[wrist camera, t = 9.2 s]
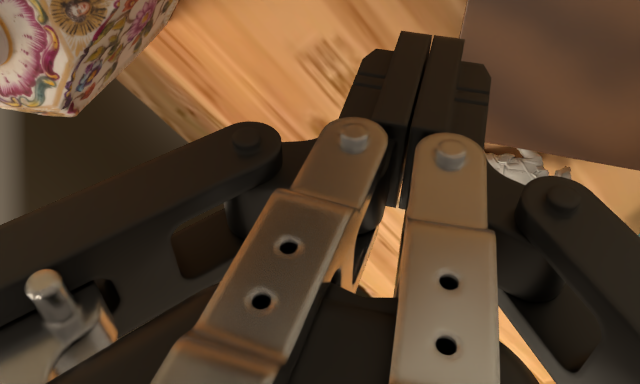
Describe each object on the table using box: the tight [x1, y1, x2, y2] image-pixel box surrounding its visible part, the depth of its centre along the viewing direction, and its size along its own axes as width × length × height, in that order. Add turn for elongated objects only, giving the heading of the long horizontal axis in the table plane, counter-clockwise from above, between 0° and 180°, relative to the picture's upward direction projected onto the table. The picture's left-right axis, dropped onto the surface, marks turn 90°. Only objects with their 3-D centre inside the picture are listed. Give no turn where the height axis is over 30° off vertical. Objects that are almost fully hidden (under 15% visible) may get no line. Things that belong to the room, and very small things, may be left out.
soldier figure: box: [485, 148, 571, 185], centre depth 44 cm, size 8×5×12 cm
